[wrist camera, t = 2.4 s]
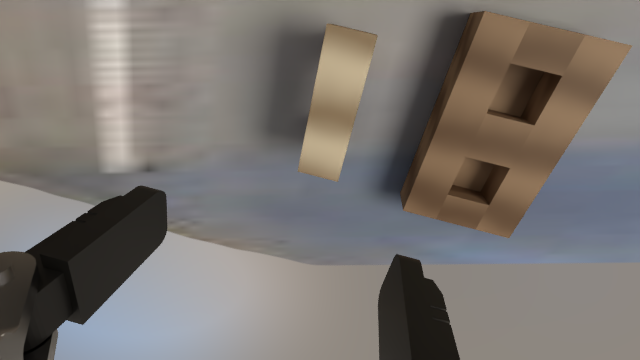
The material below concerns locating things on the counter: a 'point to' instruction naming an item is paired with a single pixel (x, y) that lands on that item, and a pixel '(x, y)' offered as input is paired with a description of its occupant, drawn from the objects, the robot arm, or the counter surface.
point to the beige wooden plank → (335, 99)
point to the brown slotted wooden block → (505, 119)
